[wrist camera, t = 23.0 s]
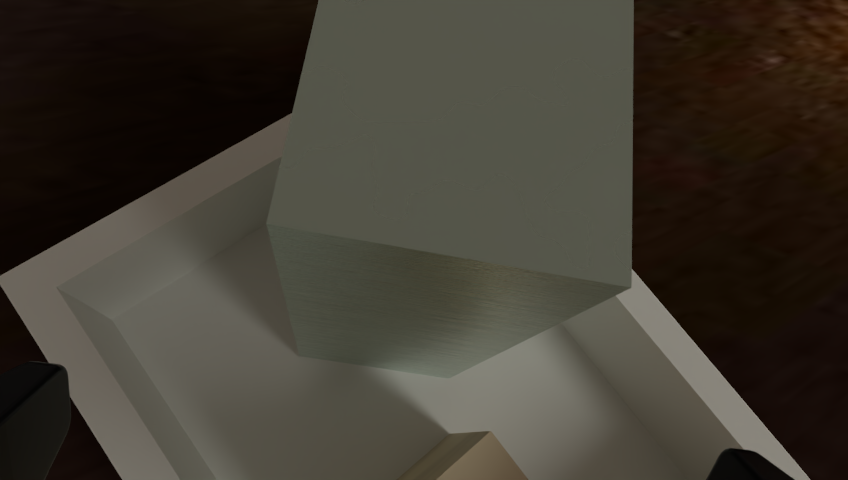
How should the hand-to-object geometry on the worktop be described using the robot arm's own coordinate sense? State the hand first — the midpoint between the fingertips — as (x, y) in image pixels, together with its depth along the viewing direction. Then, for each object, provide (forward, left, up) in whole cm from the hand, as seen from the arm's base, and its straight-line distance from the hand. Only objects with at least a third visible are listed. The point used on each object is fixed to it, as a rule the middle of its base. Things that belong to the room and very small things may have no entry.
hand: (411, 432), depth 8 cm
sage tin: (+3, -4, -11) cm, 12 cm away
